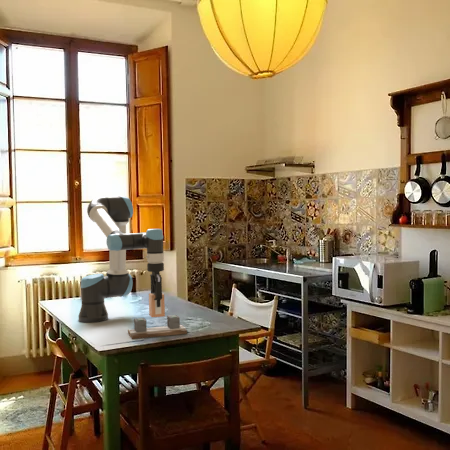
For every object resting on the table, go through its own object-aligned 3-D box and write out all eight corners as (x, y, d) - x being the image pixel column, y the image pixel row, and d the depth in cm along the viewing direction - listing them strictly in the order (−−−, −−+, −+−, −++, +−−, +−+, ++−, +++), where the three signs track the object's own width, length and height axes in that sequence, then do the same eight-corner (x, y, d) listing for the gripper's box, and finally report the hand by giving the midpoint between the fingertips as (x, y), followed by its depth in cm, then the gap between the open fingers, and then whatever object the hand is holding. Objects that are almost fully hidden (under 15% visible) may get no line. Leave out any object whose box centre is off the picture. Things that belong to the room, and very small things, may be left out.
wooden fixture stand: (127, 333, 246) (127, 317, 246) (180, 328, 254) (179, 312, 254) (132, 339, 234) (131, 322, 234) (186, 333, 243) (186, 317, 242)
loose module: (149, 315, 246) (148, 292, 245) (162, 313, 248) (161, 291, 247) (151, 317, 240) (151, 294, 240) (164, 316, 242) (164, 293, 242)
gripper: (143, 261, 251) (144, 309, 252) (151, 264, 233) (152, 317, 234) (159, 260, 253) (160, 308, 254) (168, 263, 235) (169, 315, 236)
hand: (156, 312), depth 244 cm, fingers closed on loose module, 6 cm apart
